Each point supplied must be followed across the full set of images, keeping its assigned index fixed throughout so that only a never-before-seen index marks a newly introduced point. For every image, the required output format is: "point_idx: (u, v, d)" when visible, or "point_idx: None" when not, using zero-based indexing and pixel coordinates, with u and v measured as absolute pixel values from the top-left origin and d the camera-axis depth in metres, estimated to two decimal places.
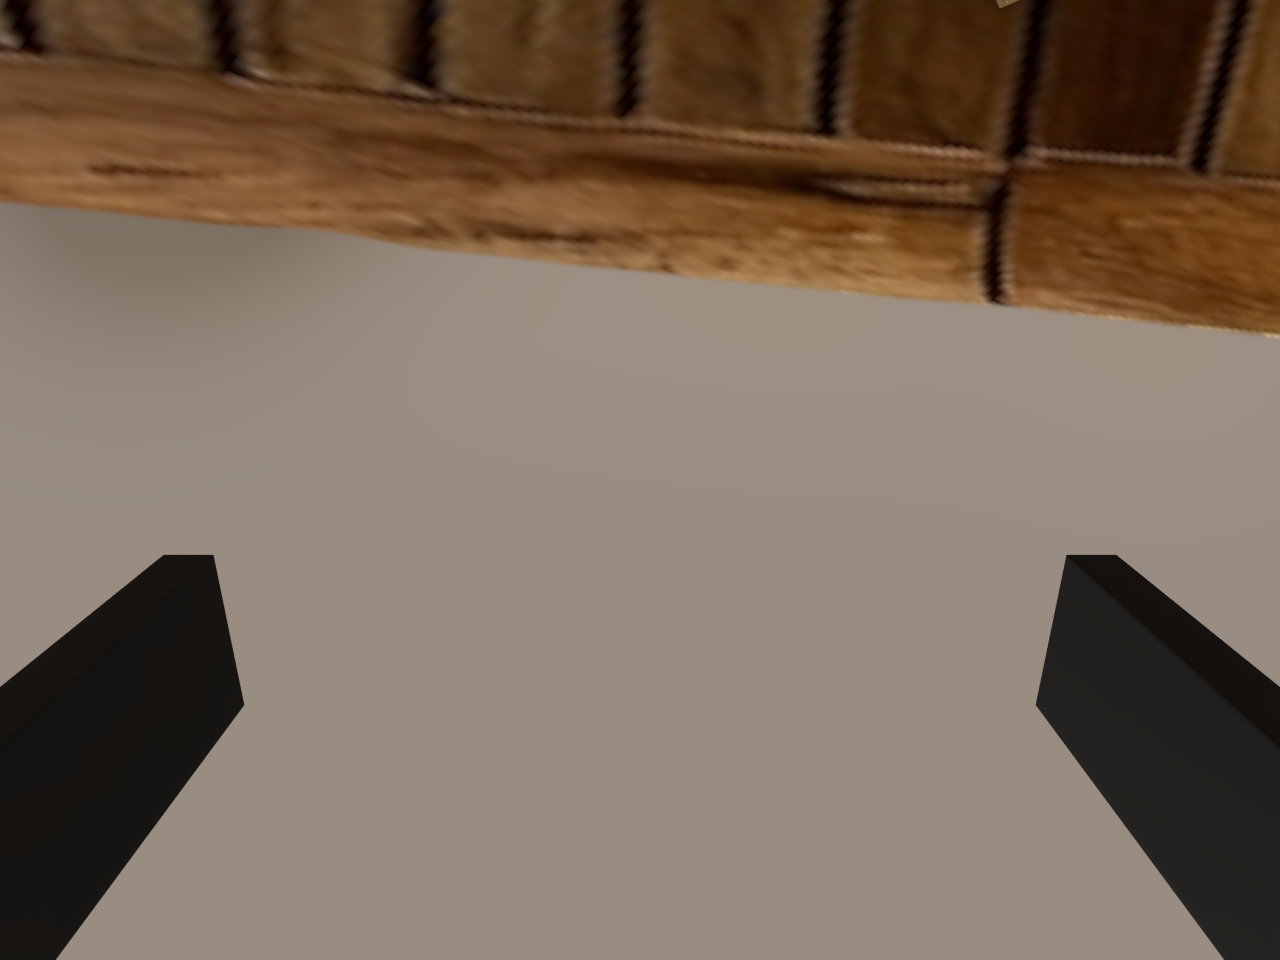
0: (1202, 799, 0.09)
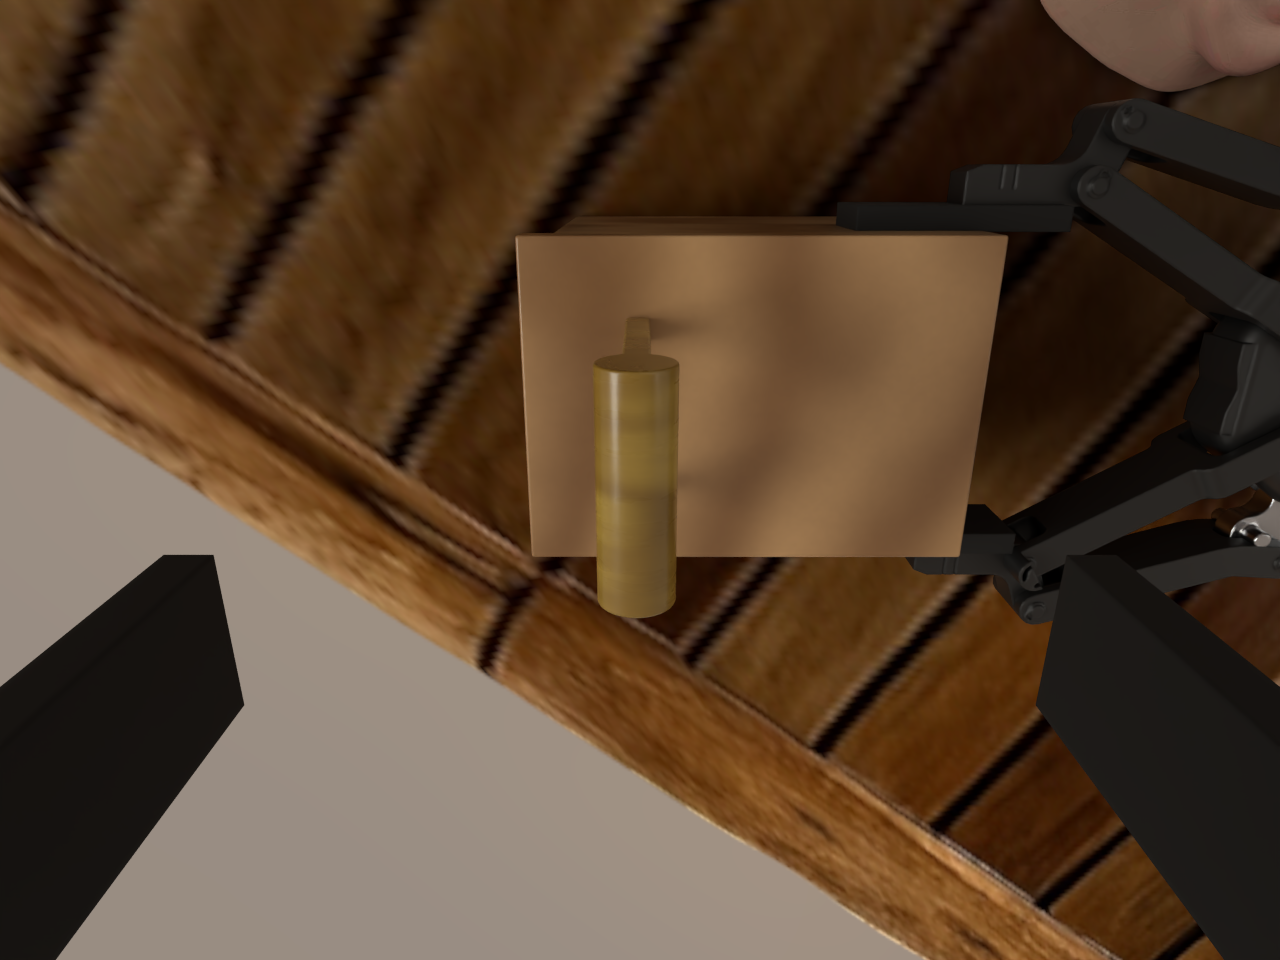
0: (1202, 799, 0.09)
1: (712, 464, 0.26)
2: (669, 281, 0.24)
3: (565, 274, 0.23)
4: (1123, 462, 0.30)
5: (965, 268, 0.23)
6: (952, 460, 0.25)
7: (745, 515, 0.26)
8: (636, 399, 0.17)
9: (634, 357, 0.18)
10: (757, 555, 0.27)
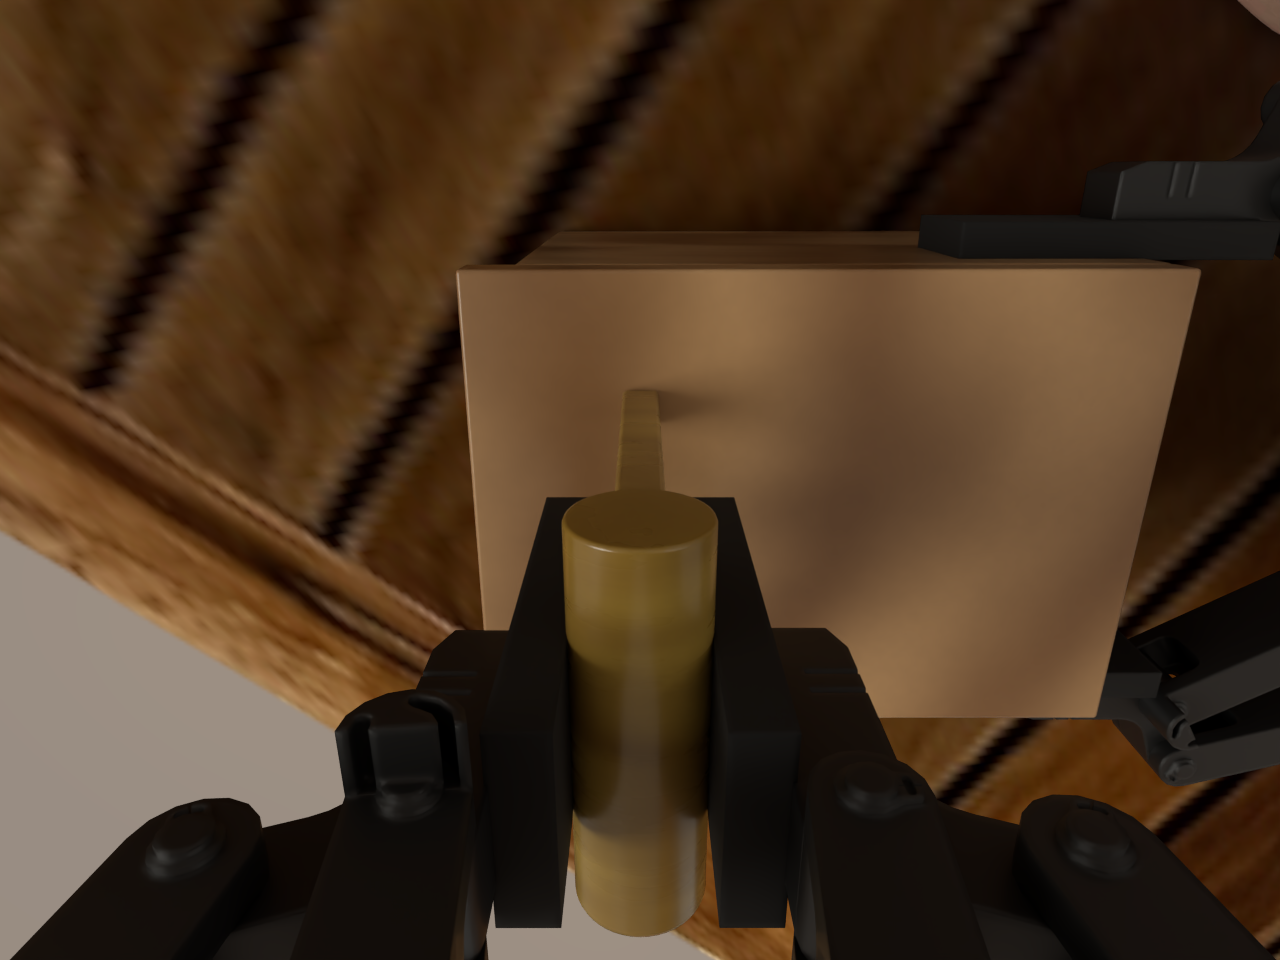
0: None
1: None
2: (688, 337, 0.16)
3: (532, 327, 0.16)
4: None
5: (1133, 318, 0.16)
6: (1095, 589, 0.18)
7: None
8: (640, 596, 0.09)
9: (636, 501, 0.10)
10: None
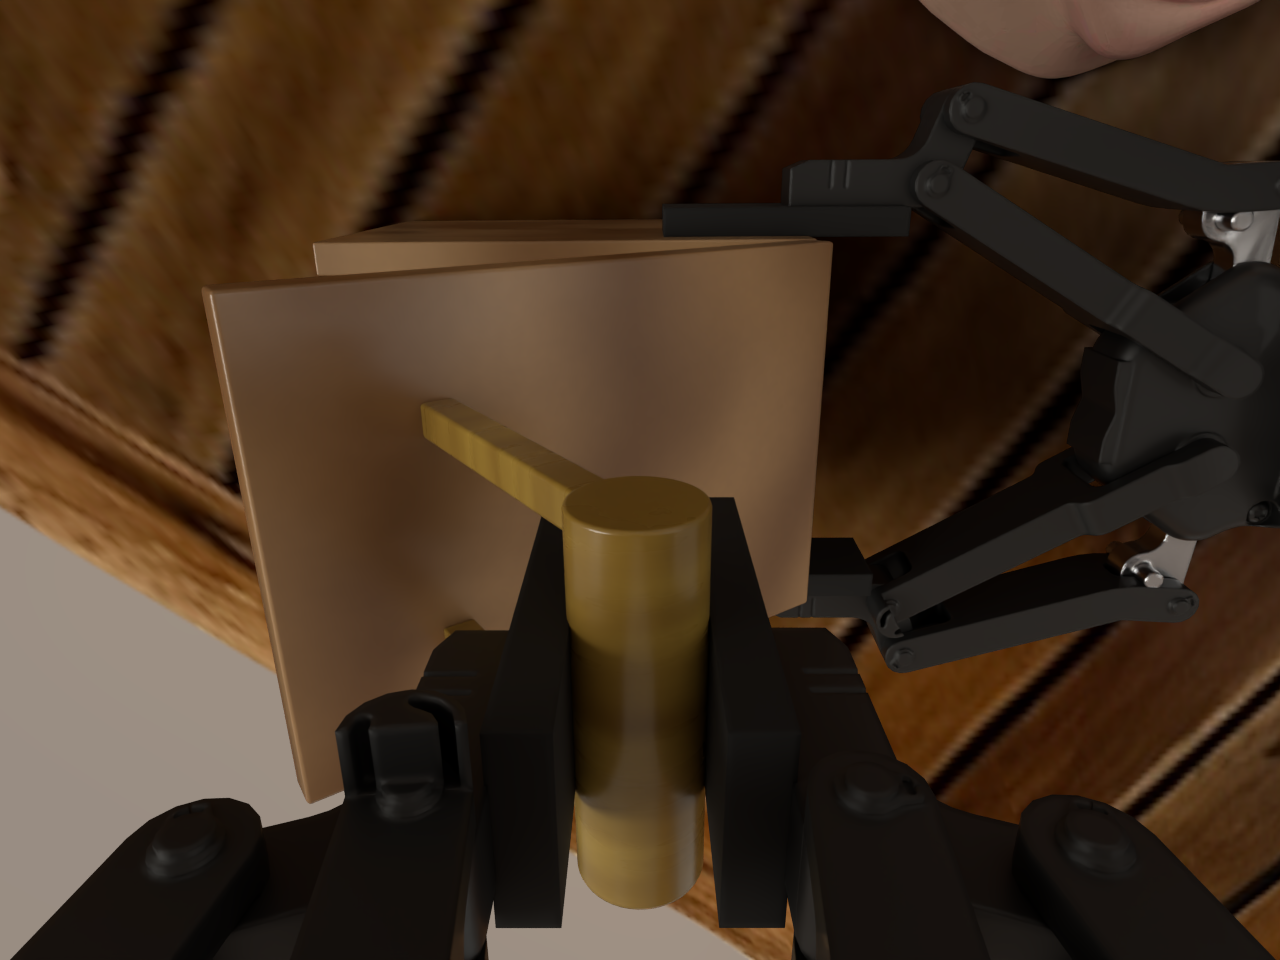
0: None
1: None
2: (477, 339, 0.15)
3: (313, 348, 0.14)
4: (1003, 491, 0.27)
5: (799, 282, 0.20)
6: (797, 501, 0.22)
7: None
8: (683, 570, 0.10)
9: (612, 490, 0.11)
10: None
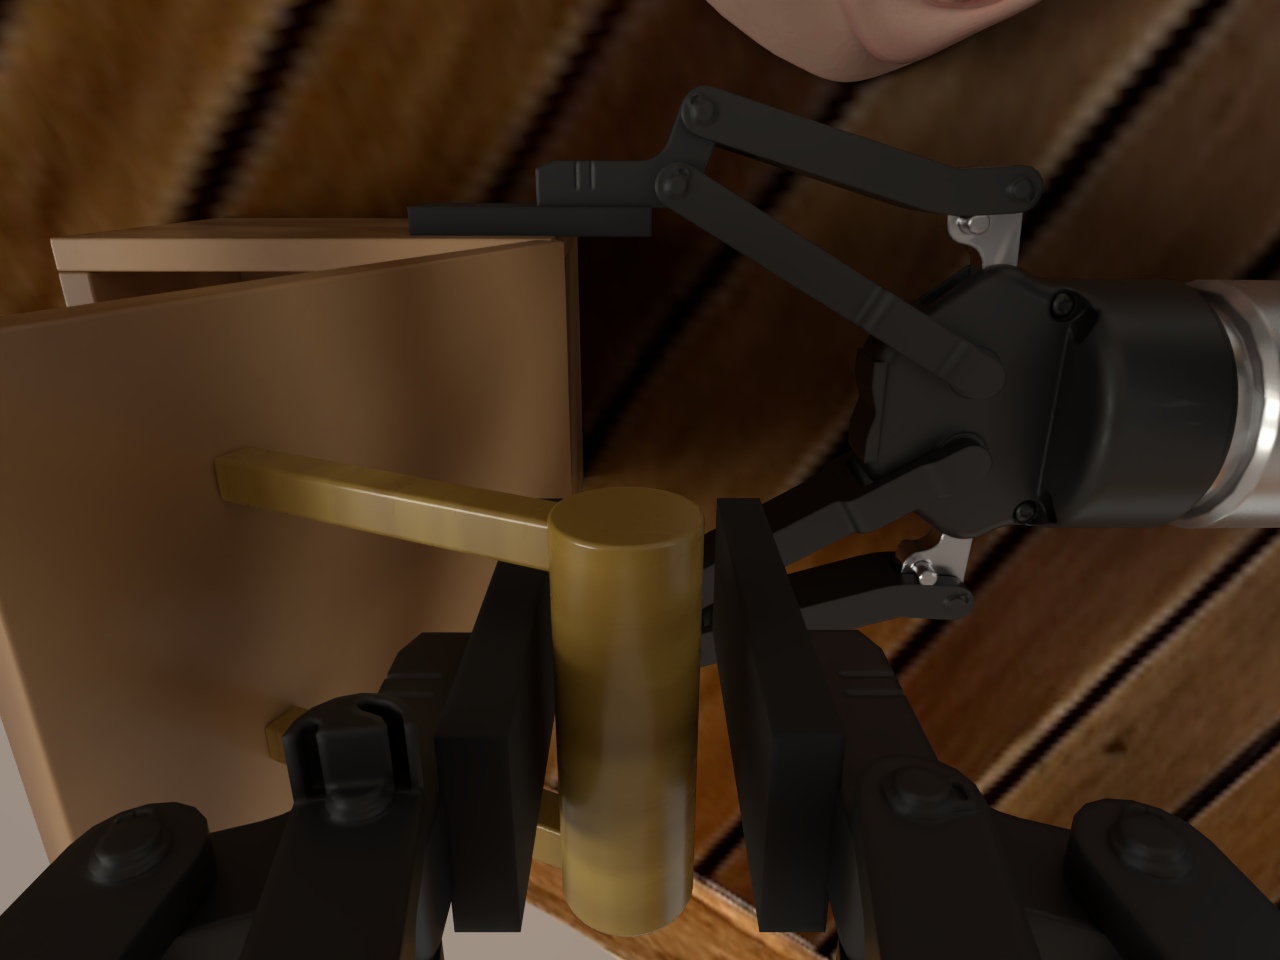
0: (737, 682, 0.11)
1: (371, 637, 0.16)
2: (268, 371, 0.13)
3: (74, 406, 0.10)
4: (791, 490, 0.27)
5: (544, 283, 0.20)
6: None
7: None
8: (699, 570, 0.10)
9: (588, 508, 0.10)
10: None
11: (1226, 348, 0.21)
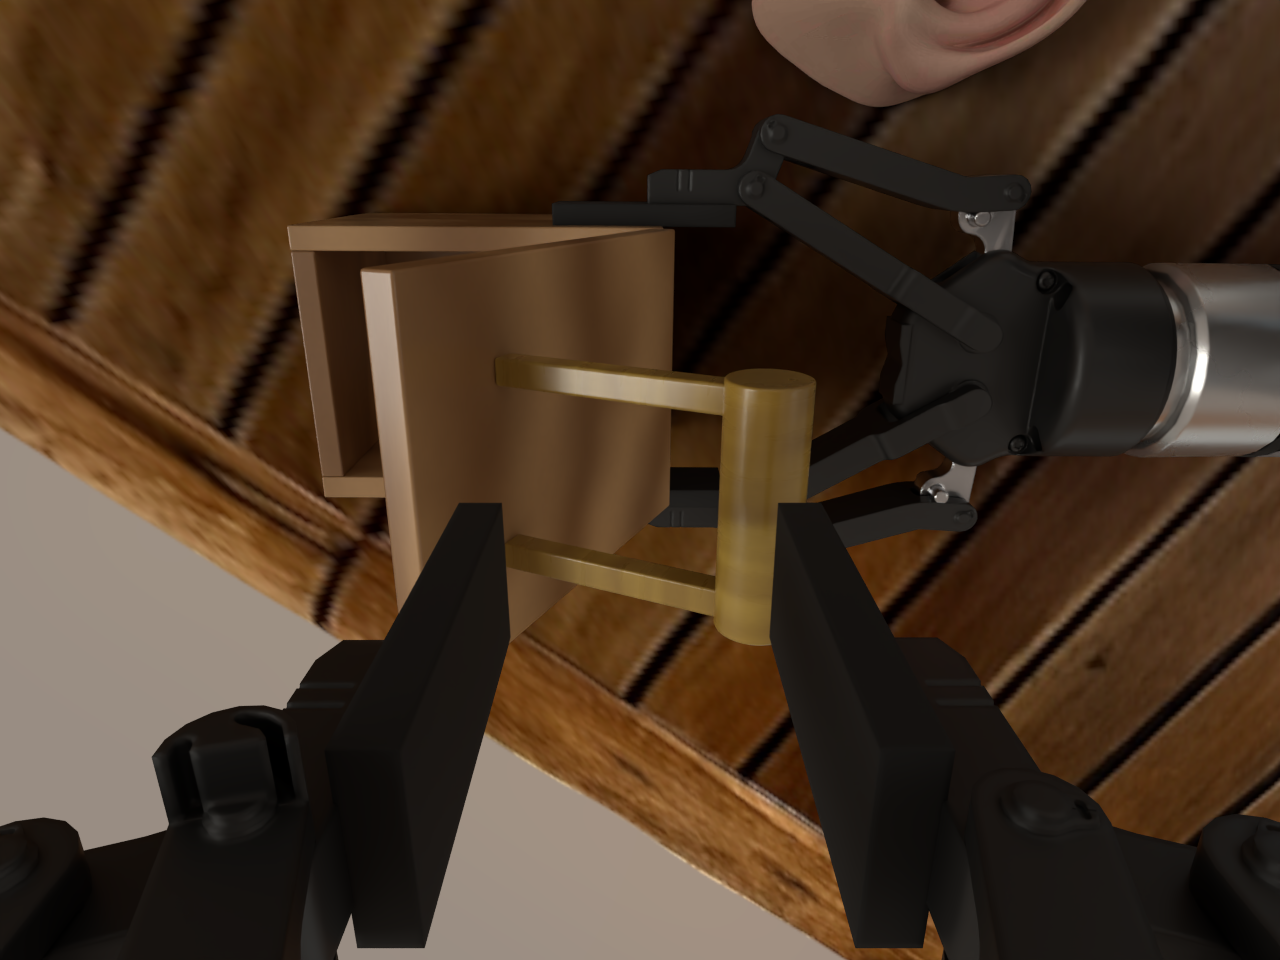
0: (814, 691, 0.11)
1: (557, 499, 0.23)
2: (520, 305, 0.20)
3: (442, 315, 0.17)
4: (832, 430, 0.34)
5: (661, 260, 0.27)
6: (664, 425, 0.29)
7: (577, 540, 0.25)
8: (813, 410, 0.17)
9: (746, 376, 0.17)
10: None
11: (1168, 312, 0.29)
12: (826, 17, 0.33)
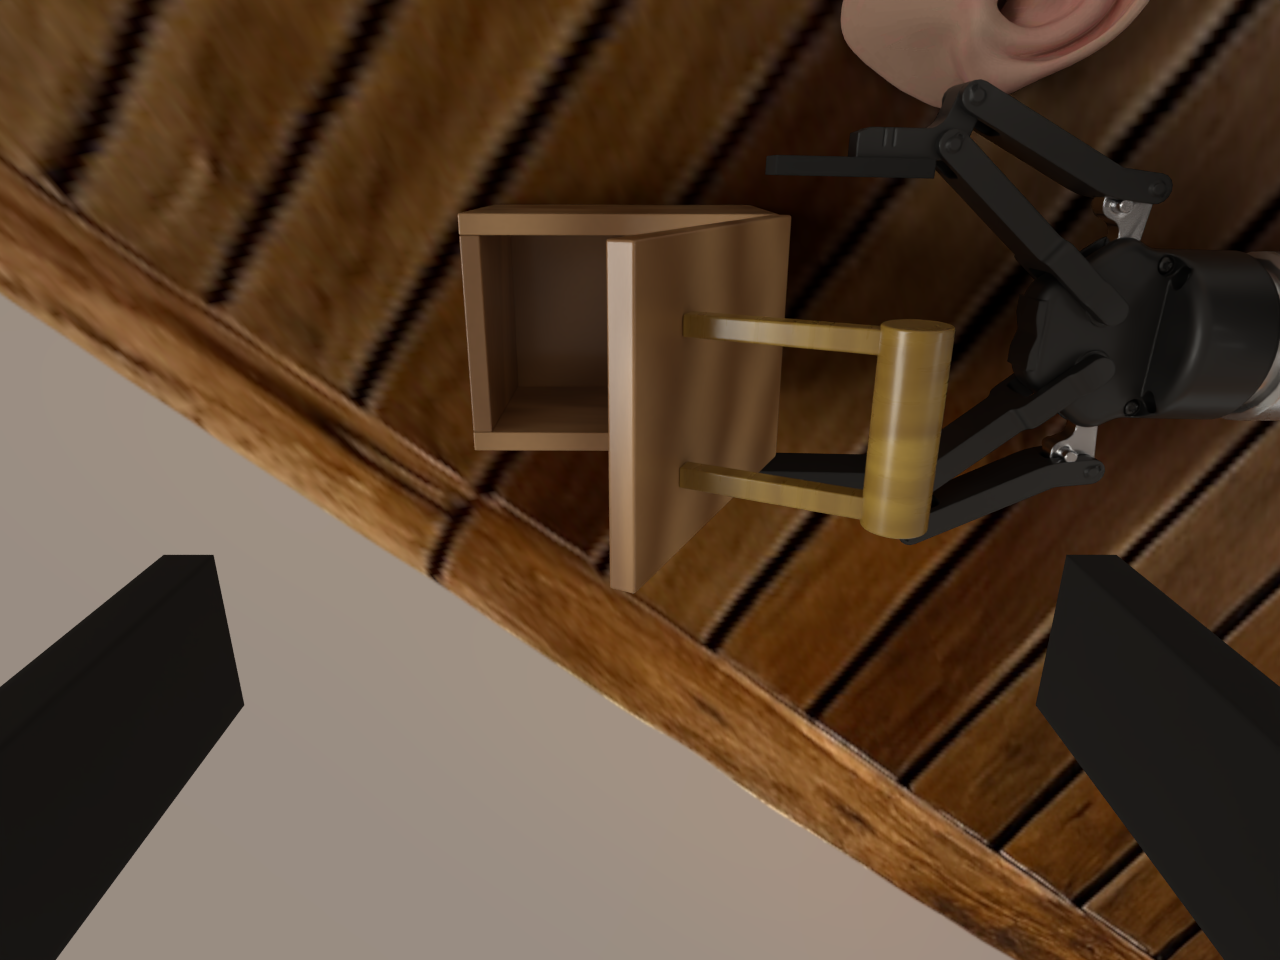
0: (1203, 799, 0.09)
1: (710, 437, 0.28)
2: (699, 273, 0.25)
3: (658, 277, 0.22)
4: (970, 410, 0.39)
5: (781, 241, 0.32)
6: (776, 385, 0.34)
7: None
8: (952, 349, 0.21)
9: (898, 323, 0.22)
10: (723, 506, 0.30)
11: (1275, 292, 0.33)
12: (908, 31, 0.37)
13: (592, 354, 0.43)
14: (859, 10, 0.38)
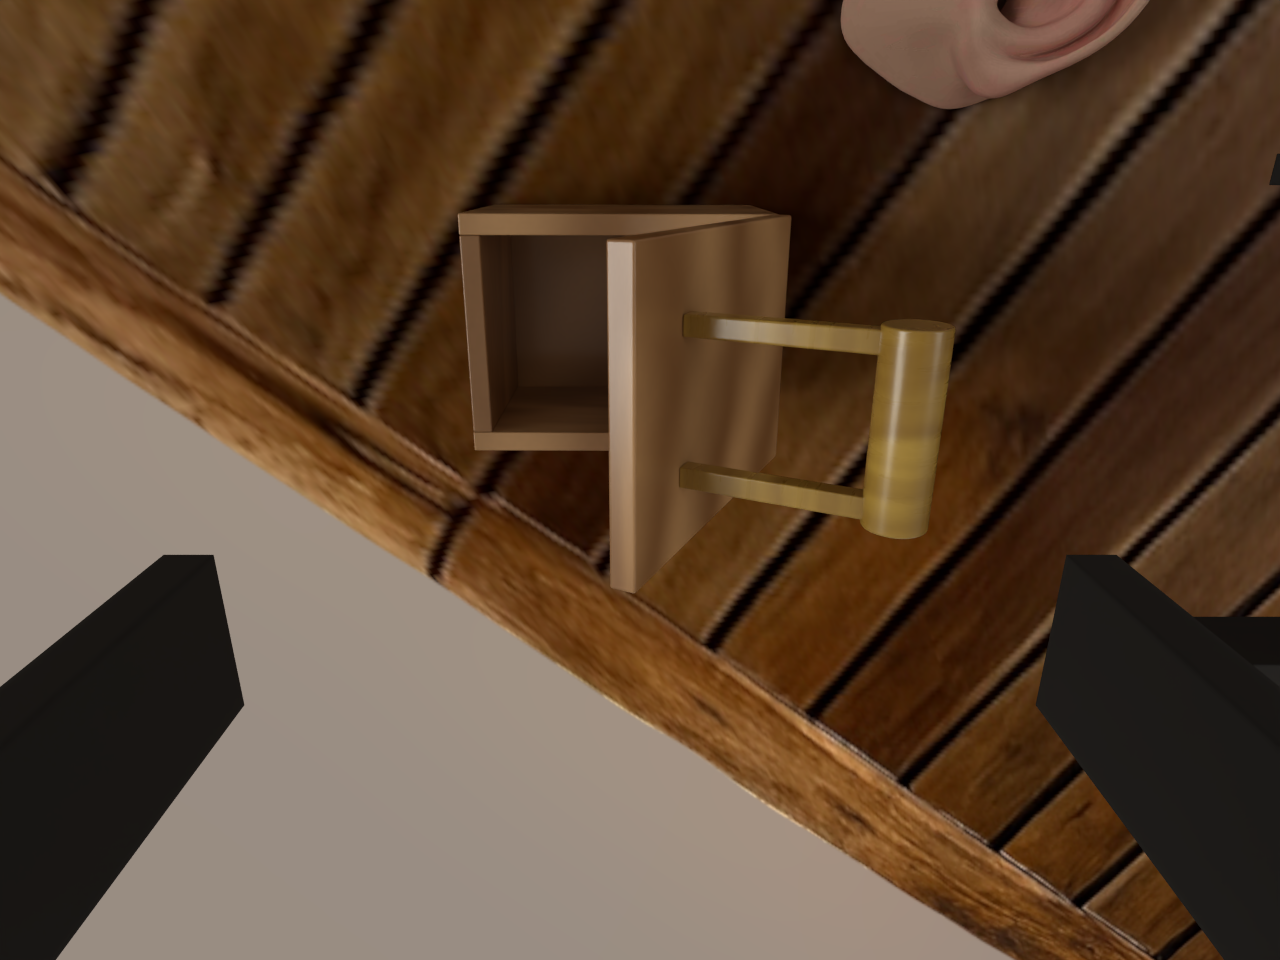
0: (1203, 799, 0.09)
1: (710, 437, 0.28)
2: (699, 273, 0.25)
3: (658, 277, 0.22)
4: None
5: (782, 241, 0.32)
6: (776, 385, 0.34)
7: None
8: (952, 349, 0.21)
9: (898, 323, 0.22)
10: (723, 506, 0.30)
11: None
12: (908, 31, 0.37)
13: (592, 354, 0.43)
14: (859, 10, 0.38)
